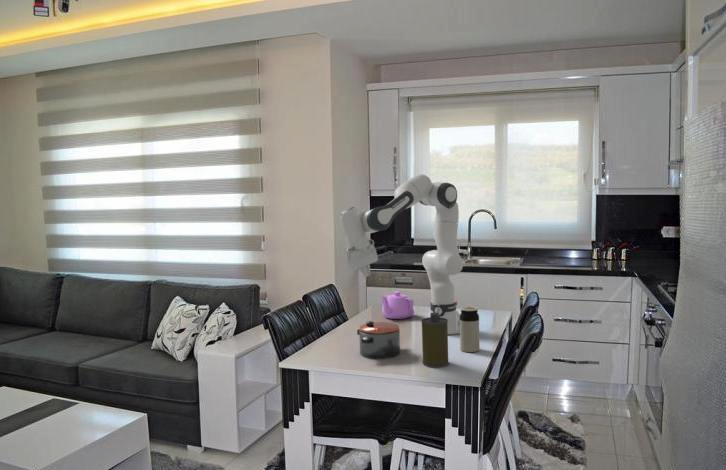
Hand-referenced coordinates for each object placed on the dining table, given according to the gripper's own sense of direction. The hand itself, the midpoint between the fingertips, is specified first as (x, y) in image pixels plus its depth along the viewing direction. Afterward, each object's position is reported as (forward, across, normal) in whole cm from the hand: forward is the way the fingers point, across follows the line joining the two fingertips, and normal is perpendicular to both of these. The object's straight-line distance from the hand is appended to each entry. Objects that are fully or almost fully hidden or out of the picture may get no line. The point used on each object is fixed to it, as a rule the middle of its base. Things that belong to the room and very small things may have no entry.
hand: (367, 276), depth 237 cm
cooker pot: (+32, -4, +3) cm, 33 cm away
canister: (+39, -8, -23) cm, 46 cm away
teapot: (+31, +59, +26) cm, 71 cm away
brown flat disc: (+23, -3, 0) cm, 23 cm away
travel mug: (+43, +15, -29) cm, 53 cm away
